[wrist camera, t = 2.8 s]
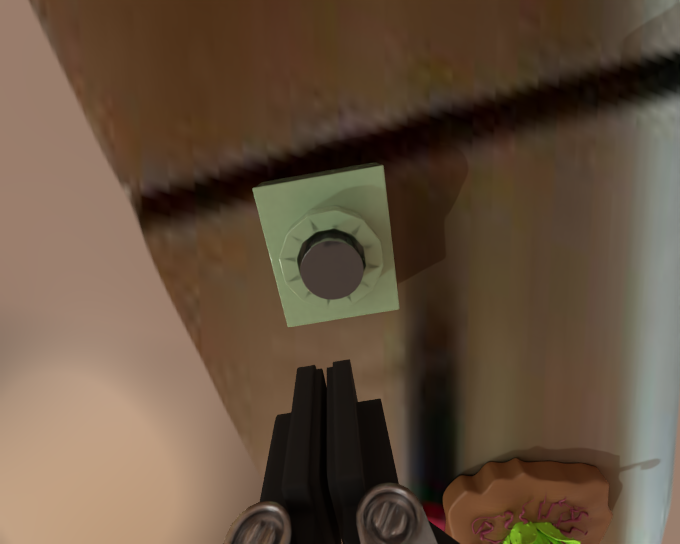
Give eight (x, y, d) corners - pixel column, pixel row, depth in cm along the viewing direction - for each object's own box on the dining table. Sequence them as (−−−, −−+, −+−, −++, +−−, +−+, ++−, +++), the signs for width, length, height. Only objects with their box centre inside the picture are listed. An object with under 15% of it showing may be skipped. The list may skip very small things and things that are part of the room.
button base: (262, 181, 26) (244, 192, 21) (375, 162, 26) (388, 167, 20) (292, 304, 30) (284, 341, 24) (390, 288, 30) (405, 322, 24)
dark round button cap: (297, 237, 22) (294, 246, 20) (356, 227, 22) (358, 235, 20) (308, 291, 24) (307, 304, 22) (364, 282, 23) (367, 294, 22)
